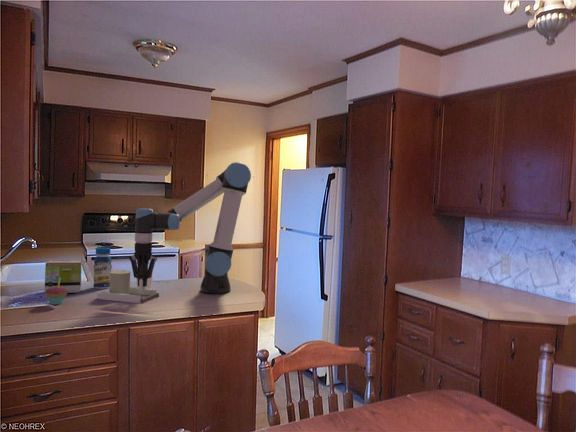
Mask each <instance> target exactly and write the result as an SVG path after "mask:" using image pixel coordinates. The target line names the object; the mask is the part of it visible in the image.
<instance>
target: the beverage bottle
mask: <svg viewBox="0 0 576 432" xmlns="http://www.w3.org/2000/svg"><path fill="white" fill-rule="evenodd" d="M95 255H96V257H94V260H93V263H94V265H93V288H95V289H101V290H104V289H109V288H110V272H111V271H112V267H113V265H112V261H113V260H112V257H110V255H111V247H106V246H103V247H96V248H95Z"/></svg>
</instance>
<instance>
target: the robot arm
mask: <svg viewBox="0 0 576 432" xmlns="http://www.w3.org/2000/svg"><path fill="white" fill-rule="evenodd" d="M251 178H252V174H251V170H250V167H249V166H248V165H246V163H243V162H238V161H235V162H231V163H230V164H229V165H228V166H227V167H226V169H224V170H223V171H222V172H221V173H220V174H219V175H217V176H216V178H215V179H214V180H213V181H212V182H210V183H209V184H207V185H205V186H204V187H203V188H201V189H200V190H198V191H196V192H194V193H193V194H192V195H190V196H189V197H187V198H185V200H183V201H181V202H179V204H176V205H175V206H174V207H172V208H170V209H169V210H167V211H166V212H164V213H157V212H154V209H152V208H145V207H143V208H141V207H140V208H137V209H136V210H135V218H134V221H135V222H134V225H135V226H134V227H135V228H134V232H135V233H134V254H133V255H132V256H129V257H128V259H129V261H130V264H131V269H132V274H133V278H134V279H136V278H137V279H138V286H139V294H144V293H145V286H147V279H148V278H151V276H152V277H153V273H152V272H154V268H155V264H156V262H157V261H158V258H157V257H154V256H153V252H152V251H153V243H152V242H153V230H154V231H155V230H163V231H164V230H165V231H178V230H180V225H181V224H180V223H181V222H182V221H183V220H185V219H186V218H189V216H191V215H193V214H194V213H196V212H197V211H198V210H200V209H202V208H203V207H204V206H206V205H208V204H209V203H210V202H213V200H215V199H217V198H218V197H220V196H221V195H222V194H223V196H222V201H221V205H220V210H219V215H218V219H217V223H216V228H215V233H214V237H213V241H212V242H211V243H209V245H205V248H204V271H203V272H204V273H203V277H202V281H201V283H200V286H199V287H200V289H199V290H200V292H202V293H205V294H215V295H216V294H224V293H225V294H226V293H229V292H231V289H232V288H231V283H230V280H229V274H228V272H229V271H230V270H231V267H232V257H233V252H234V248H233V246H232V242H233V238H234V234H235V229H236V225H237V221H238V217H239V212H240V207H241V204H242V203H241V202H242V198H243V196H244V195H246V194H247V192H248V191H247V190H248V187H249V183H250V181H251Z"/></svg>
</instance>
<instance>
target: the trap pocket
mask: <svg viewBox="0 0 576 432" xmlns="http://www.w3.org/2000/svg"><path fill="white" fill-rule="evenodd" d="M159 297H160V293H159V292H156V293H155V294H152V295H146V296H145V295H142V296H141V302H140V303H142V304H144V303H146V302H149V301H152V300H153V299H156V298H159Z"/></svg>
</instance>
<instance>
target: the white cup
mask: <svg viewBox="0 0 576 432" xmlns="http://www.w3.org/2000/svg"><path fill="white" fill-rule="evenodd" d="M153 272H154V271H153ZM153 272H152V274H153ZM135 279H136V280H135V282H136V288H139V286H138V279H137V278H135ZM152 282H153V275H152V276H151V278H148V279H147V286H145V288H146V289H152V284H153V283H152Z"/></svg>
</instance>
